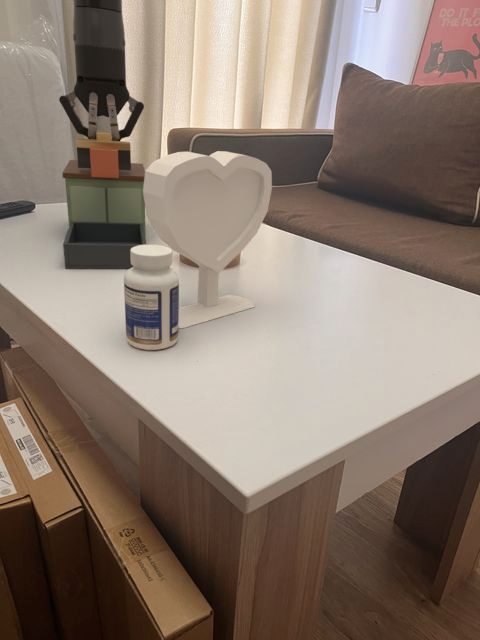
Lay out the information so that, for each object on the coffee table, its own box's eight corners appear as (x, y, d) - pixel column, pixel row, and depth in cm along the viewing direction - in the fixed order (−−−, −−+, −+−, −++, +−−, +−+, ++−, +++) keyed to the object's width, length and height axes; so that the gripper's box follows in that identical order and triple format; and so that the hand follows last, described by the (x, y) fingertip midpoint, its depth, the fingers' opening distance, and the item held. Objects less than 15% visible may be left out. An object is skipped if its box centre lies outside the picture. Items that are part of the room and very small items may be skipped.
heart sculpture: (167, 332, 57) (168, 158, 49) (141, 317, 60) (137, 151, 52) (266, 303, 67) (279, 155, 60) (239, 291, 70) (248, 149, 63)
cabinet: (68, 242, 85) (62, 172, 80) (74, 220, 97) (69, 159, 93) (147, 243, 88) (146, 176, 83) (143, 222, 101) (142, 163, 96)
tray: (65, 268, 73) (63, 244, 72) (72, 243, 84) (70, 221, 83) (147, 269, 76) (146, 245, 74) (143, 244, 87) (143, 223, 86)
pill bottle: (160, 325, 58) (159, 239, 54) (188, 343, 55) (190, 252, 51) (116, 337, 55) (112, 246, 51) (143, 356, 52) (141, 260, 47)
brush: (81, 160, 89) (79, 128, 87) (129, 162, 91) (128, 132, 89) (78, 167, 81) (75, 133, 79) (130, 170, 84) (130, 136, 81)
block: (91, 176, 79) (89, 148, 77) (92, 172, 82) (90, 145, 80) (118, 178, 80) (117, 150, 78) (118, 173, 83) (117, 146, 81)
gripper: (144, 51, 86) (146, 162, 93) (54, 41, 82) (63, 157, 90) (147, 49, 79) (148, 168, 87) (49, 38, 76) (59, 163, 84)
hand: (105, 162), depth 88 cm, fingers closed on brush
